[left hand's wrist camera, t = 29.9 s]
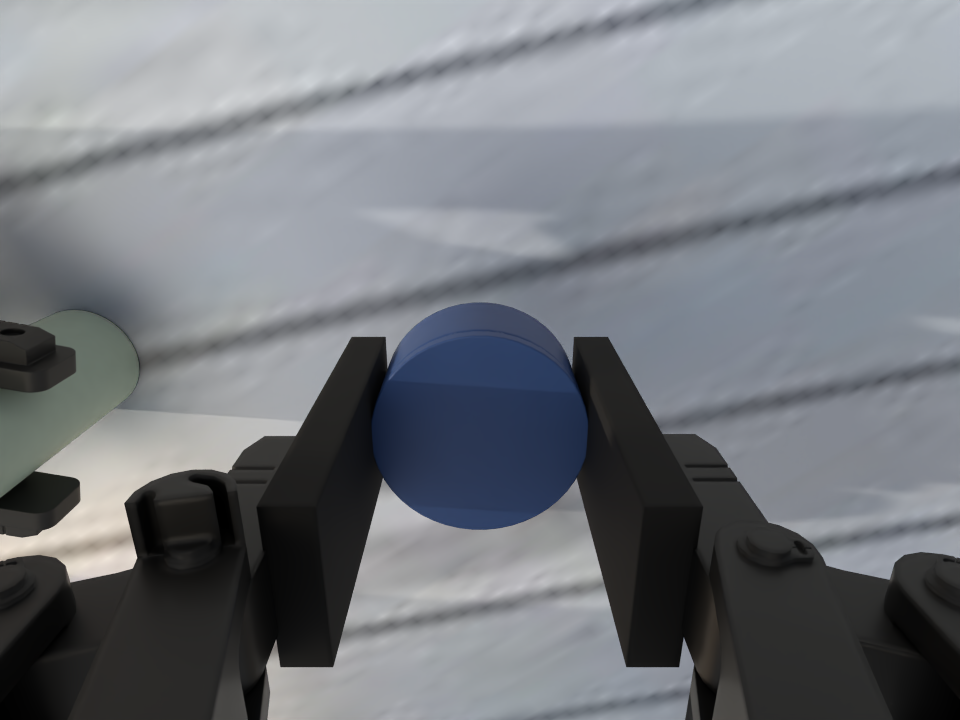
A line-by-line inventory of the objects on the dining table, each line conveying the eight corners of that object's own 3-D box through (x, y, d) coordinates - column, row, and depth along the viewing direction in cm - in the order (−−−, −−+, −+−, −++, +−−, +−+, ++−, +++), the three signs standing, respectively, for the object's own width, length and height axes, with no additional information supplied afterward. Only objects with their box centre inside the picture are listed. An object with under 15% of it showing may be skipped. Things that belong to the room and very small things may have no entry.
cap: (452, 263, 13) (447, 291, 11) (611, 368, 14) (634, 413, 12) (351, 414, 15) (330, 464, 13) (502, 502, 16) (506, 563, 13)
